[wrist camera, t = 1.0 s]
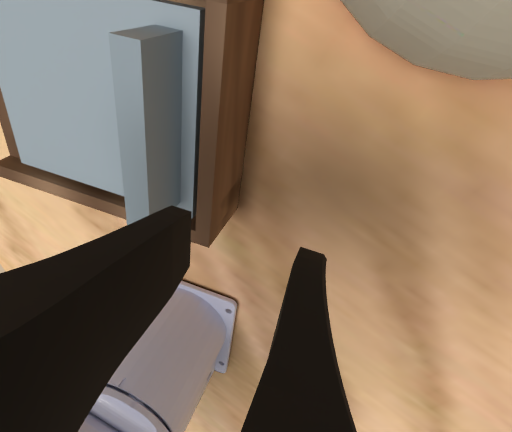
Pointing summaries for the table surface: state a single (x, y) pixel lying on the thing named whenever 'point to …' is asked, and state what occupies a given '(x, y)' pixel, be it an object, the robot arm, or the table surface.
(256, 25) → the box
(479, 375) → the table surface
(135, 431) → the robot arm
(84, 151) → the lid
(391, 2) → the kitchen timer
